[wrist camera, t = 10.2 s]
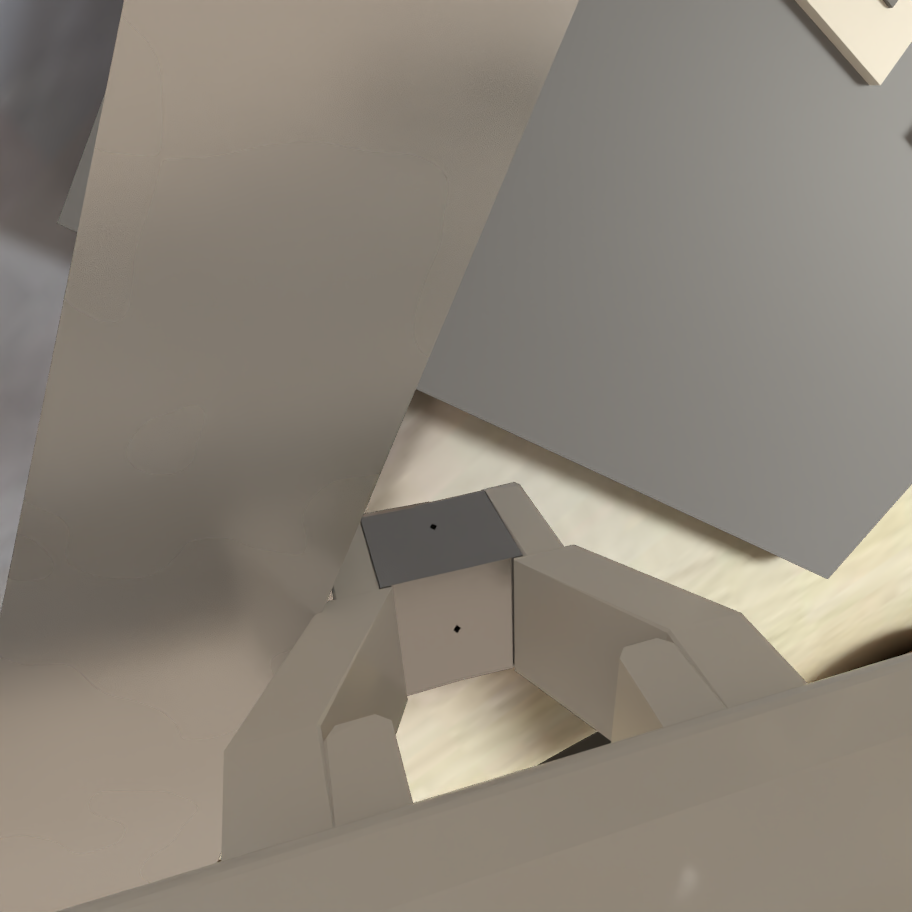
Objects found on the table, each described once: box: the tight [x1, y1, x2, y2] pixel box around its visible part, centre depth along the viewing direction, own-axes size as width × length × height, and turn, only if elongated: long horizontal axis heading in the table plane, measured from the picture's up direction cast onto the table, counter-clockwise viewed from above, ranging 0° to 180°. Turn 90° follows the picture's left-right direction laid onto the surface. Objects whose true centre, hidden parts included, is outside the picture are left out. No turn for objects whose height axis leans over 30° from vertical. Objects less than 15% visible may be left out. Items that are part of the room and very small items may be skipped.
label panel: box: [57, 0, 912, 579], centre depth 13 cm, size 18×24×7 cm
